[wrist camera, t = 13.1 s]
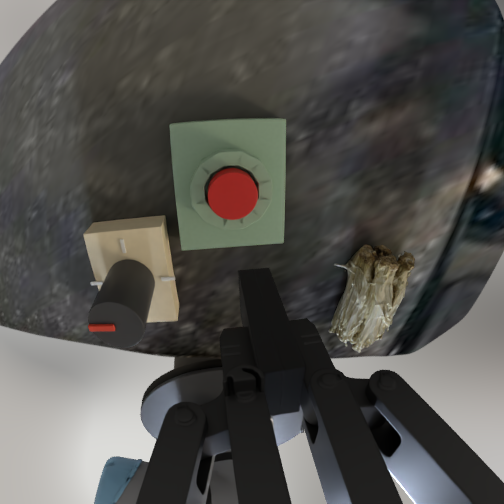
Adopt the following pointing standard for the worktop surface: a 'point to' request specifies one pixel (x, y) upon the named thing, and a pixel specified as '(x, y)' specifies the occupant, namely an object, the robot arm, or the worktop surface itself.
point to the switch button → (232, 194)
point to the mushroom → (370, 295)
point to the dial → (122, 304)
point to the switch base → (222, 157)
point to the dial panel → (136, 257)
